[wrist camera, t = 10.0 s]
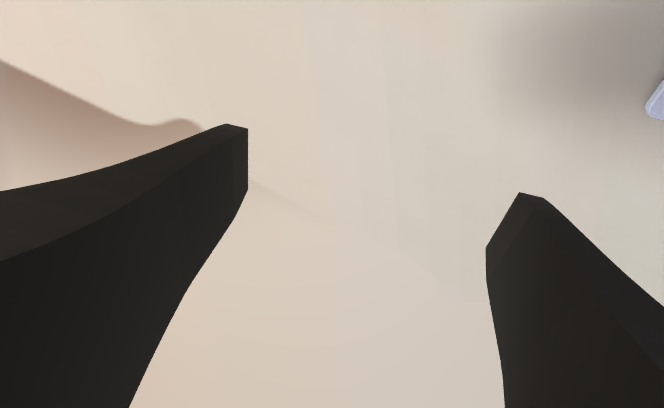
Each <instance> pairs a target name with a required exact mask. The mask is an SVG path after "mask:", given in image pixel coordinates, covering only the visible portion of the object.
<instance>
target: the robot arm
mask: <svg viewBox="0 0 664 408" xmlns="http://www.w3.org/2000/svg"><path fill="white" fill-rule="evenodd" d="M645 111H646V113H647V114H648V115H649V116H651V117H653V118H656V119H661V120H664V79H663V81H662V82H661V83H660V85H659V86H658V88H657V89H656V90H655V92H654V93H653V95H652V96H651V97H650V99H649V100H648V101H647V103H646V105H645ZM247 190H248V129H247V128H243V127H239V126H234V125H230V124H223V125H220V126H217V127H214V128H211V129H209V130H206V131H204V132H201V133H199V134H196V135H194V136H191V137H189V138H186V139H184V140H181V141H179V142H176V143H174V144H172V145H169V146H166V147H164V148H161V149H159V150H156V151H153V152H150V153H147V154H145V155H142V156H139V157H136V158H133V159H130V160H128V161H125V162H122V163H119V164H116V165H113V166H109V167H106V168H102V169H99V170H95V171H91V172H88V173H84V174H80V175H77V176H73V177H68V178H64V179H60V180H55V181H50V182H46V183H41V184H35V185H30V186H25V187H21V188H16V189H11V190H5V191H0V408H129V406H130V404H131V402H132V400H133V397H134V395H135V393H136V391H137V389H138V386H139V385H140V382H141V380H142V378H143V376H144V374H145V371H146V369H147V367H148V365H149V363H150V361H151V359H152V357H153V355H154V353H155V351H156V349H157V347H158V345H159V343H160V341H161V339H162V337H163V335H164V333H165V331H166V329H167V327H168V325H169V323H170V320H171V319H172V317H173V315H174V313H175V311H176V309H177V307H178V306H179V303H180V302H181V300H182V298H183V296H184V294H185V293H186V291H187V289H188V288H189V286H190V284H191V283H192V281H193V279H194V278H195V276H196V275H197V274H198V272H199V270H200V269H201V267H202V266H203V264H204V263H205V262H206V260H207V259H208V257H209V256H210V254H211V253H212V251H213V250H214V248H215V247H216V245H217V244H218V242H219V241H220V239H221V238H222V236H223V235H224V233H225V232H226V230H227V229H228V227H229V225H230V224H231V223H232V221H233V219H234V218H235V216H236V214H237V212H238V210H239V208H240V206H241V203H242V201H243V199H244V197H245V195H246V192H247ZM486 282H487V288H488V294H489V300H490V305H491V311H492V316H493V322H494V328H495V333H496V339H497V344H498V349H499V355H500V360H501V368H502V374H503V386H504V401H505V408H664V307H663V306H662V305H661V304H660V303H659V302H657V301H656V300H655V299H654V298H652V297H651V296H650V295H649V294H648V293H647V292H646V291H644V290H643V289H642V288H641V287H640V286H639V285H638V284H636V283H635V282H634V281H633V280H632V279H631V278H630V277H628V276H627V275H626V274H625V273H624V272H623V271H622V270H621V269H620V268H618V267H617V266H616V265H615V264H614V263H613V262H612V261H611V260H610V259H609V258H608V257H607V256H606V255H604V254H603V253H602V252H601V251H600V250H599V249H598V248H597V247H596V246H595V245H594V244H593V243H592V242H591V241H590V240H589V239H588V238H587V237H586V236H585V235H584V234H583V233H582V232H581V231H580V230H578V229H577V228H576V227H575V226H574V225H573V224H572V223H571V222H570V221H569V220H568V219H567V218H566V217H565V216H564V215H563V214H562V213H561V212H560V211H559V210H557V209H556V208H555V207H554V206H553V205H552V204H550V203H549V202H548V201H547V200H545V199H544V198H542V197H537V196H533V195H529V194H524V193H520V192H519V193H518V195H517V197H516V198H515V200H514V202H513V203H512V205H511V207H510V208H509V210H508V212H507V213H506V215H505V217H504V218H503V220H502V222H501V223H500V225H499V227H498V228H497V230H496V232H495V233H494V235H493V237H492V238H491V240H490V242H489V243H488V245H487V247H486Z"/></svg>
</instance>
